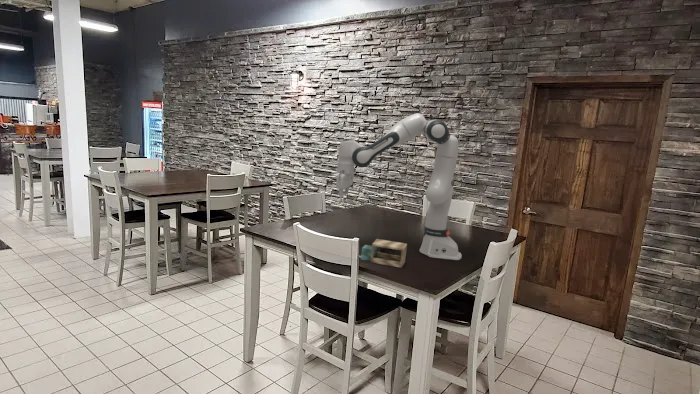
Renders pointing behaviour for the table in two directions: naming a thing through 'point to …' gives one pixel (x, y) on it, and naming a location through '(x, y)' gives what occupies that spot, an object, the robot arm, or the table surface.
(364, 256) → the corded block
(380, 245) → the cubby shelf
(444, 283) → the table surface
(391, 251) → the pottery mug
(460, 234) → the table surface
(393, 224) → the table surface
